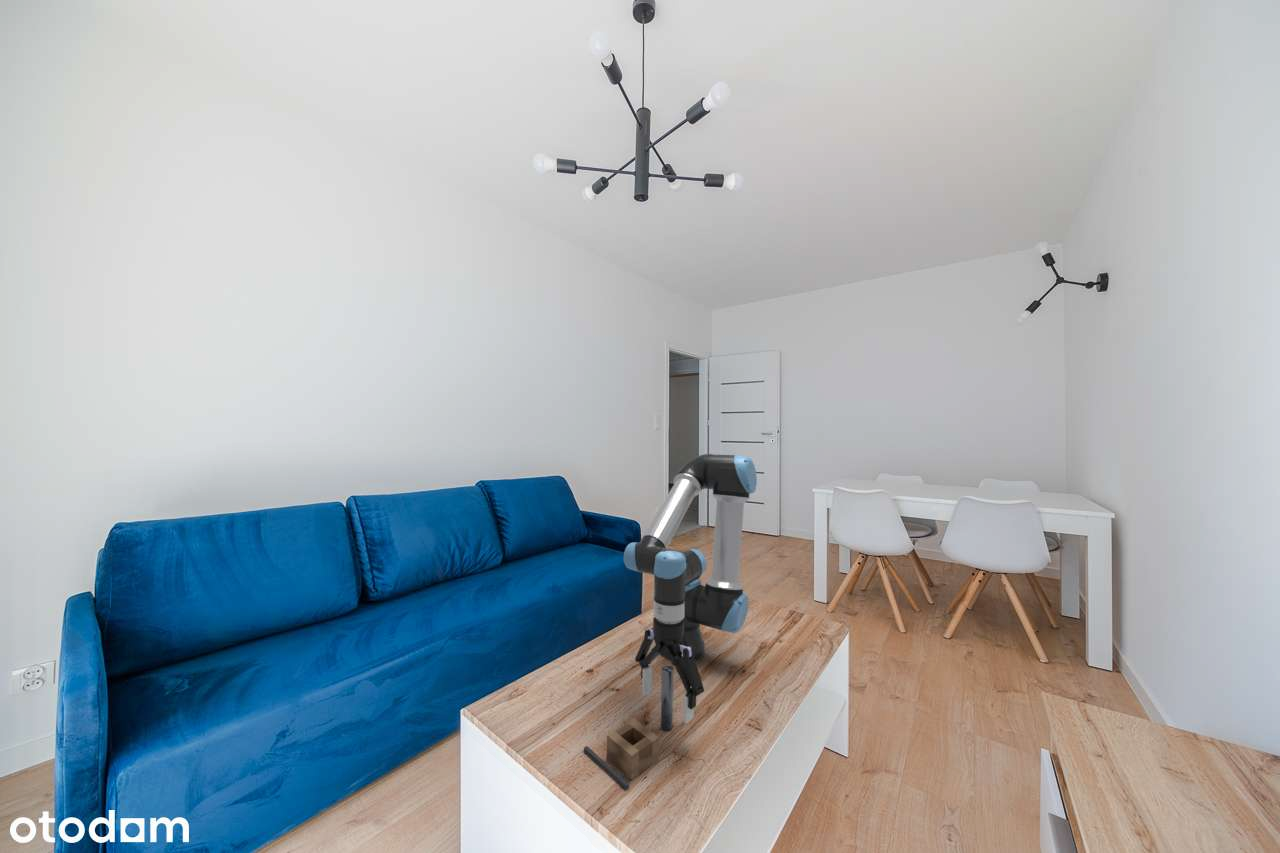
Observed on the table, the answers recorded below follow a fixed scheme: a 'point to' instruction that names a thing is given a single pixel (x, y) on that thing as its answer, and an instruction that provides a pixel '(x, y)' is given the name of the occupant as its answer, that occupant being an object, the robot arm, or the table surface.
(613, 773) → the dark grey rod
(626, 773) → the bead block
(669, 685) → the dark grey peg
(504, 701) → the table surface
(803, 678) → the table surface
